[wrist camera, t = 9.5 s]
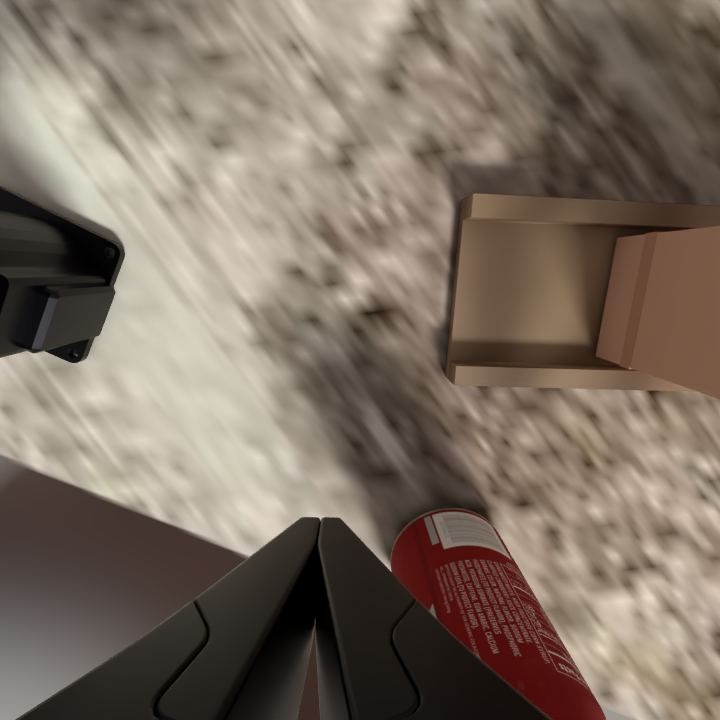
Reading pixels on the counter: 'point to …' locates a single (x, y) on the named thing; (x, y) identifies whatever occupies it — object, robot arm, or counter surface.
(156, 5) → the counter surface
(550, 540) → the counter surface
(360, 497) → the counter surface
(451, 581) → the soda can
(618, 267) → the pink box
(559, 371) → the bay
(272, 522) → the counter surface
